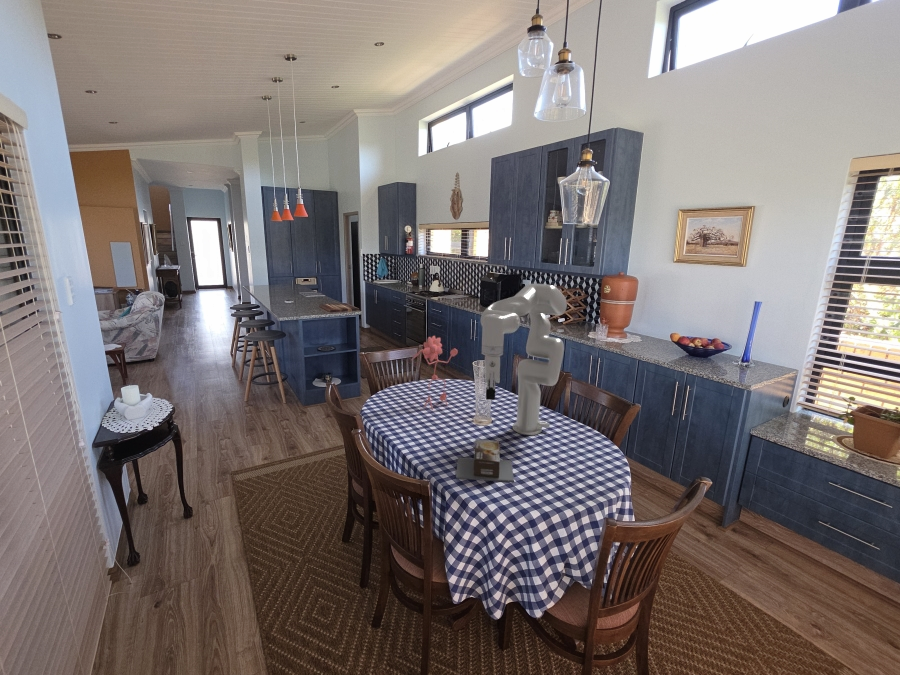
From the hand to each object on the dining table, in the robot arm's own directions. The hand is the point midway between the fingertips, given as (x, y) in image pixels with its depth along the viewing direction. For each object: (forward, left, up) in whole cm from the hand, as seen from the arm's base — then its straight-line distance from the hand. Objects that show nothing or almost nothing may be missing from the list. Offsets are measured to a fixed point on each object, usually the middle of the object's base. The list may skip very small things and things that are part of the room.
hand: (490, 398), depth 158 cm
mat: (+1, +6, -25) cm, 26 cm away
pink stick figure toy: (+27, -56, -25) cm, 67 cm away
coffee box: (0, -4, -21) cm, 22 cm away
